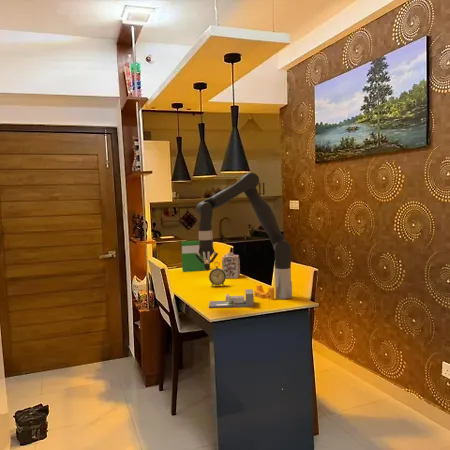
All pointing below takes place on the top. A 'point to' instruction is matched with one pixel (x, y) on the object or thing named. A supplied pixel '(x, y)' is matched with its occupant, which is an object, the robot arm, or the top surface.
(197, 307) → the top surface
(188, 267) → the hardback book
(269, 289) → the pipe clamp
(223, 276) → the alarm clock
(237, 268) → the decorative jar
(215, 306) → the base
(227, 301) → the block
